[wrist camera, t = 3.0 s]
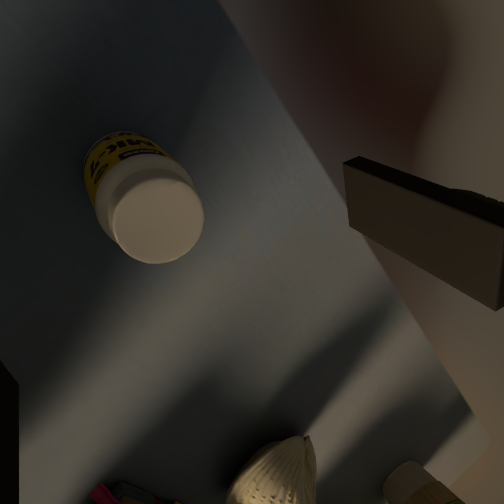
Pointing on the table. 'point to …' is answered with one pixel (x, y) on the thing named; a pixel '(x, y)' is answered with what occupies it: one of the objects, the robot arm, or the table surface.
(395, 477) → the coffee cup
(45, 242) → the table surface
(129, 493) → the decorative book
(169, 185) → the supplement bottle
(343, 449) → the table surface
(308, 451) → the seashell
